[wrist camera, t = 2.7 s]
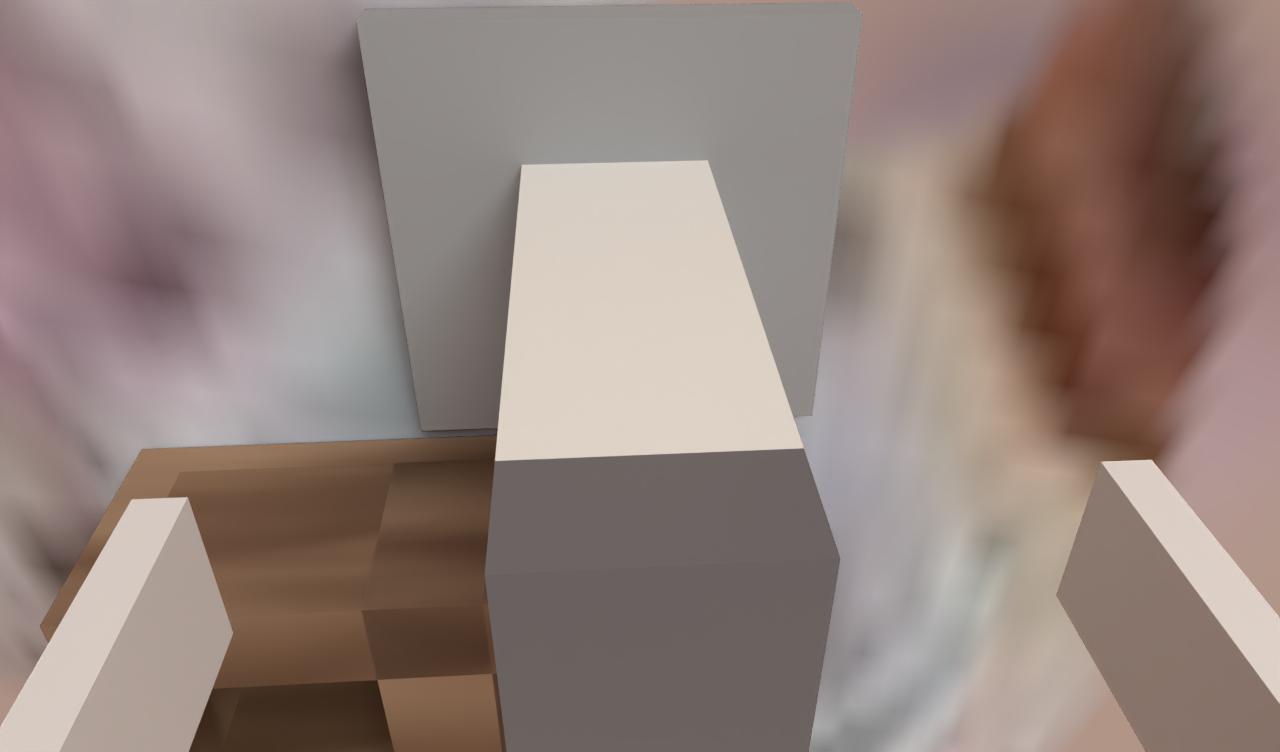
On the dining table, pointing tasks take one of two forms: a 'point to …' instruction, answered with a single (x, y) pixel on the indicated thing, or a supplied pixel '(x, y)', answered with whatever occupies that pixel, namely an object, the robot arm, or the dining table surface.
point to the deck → (602, 157)
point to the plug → (648, 482)
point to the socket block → (337, 591)
